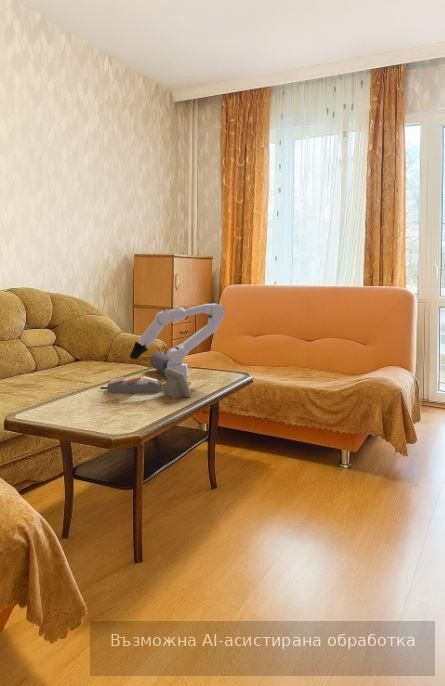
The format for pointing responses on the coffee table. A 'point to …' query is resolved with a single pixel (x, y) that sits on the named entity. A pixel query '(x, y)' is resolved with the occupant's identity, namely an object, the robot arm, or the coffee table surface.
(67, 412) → the coffee table surface
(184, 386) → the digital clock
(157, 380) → the block
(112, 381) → the rocker
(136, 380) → the plate
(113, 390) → the power strip
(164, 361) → the bluetooth speaker
